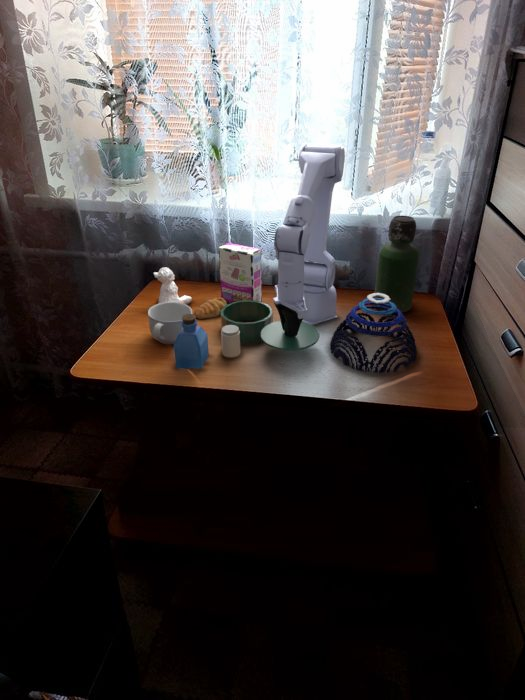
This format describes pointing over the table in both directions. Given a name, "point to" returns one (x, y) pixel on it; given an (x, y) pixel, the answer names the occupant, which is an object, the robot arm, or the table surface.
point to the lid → (280, 339)
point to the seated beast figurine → (169, 288)
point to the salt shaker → (230, 341)
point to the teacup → (167, 320)
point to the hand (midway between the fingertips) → (289, 332)
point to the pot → (247, 318)
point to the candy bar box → (240, 273)
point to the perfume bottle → (191, 344)
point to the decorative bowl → (361, 320)
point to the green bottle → (398, 264)
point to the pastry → (210, 308)
